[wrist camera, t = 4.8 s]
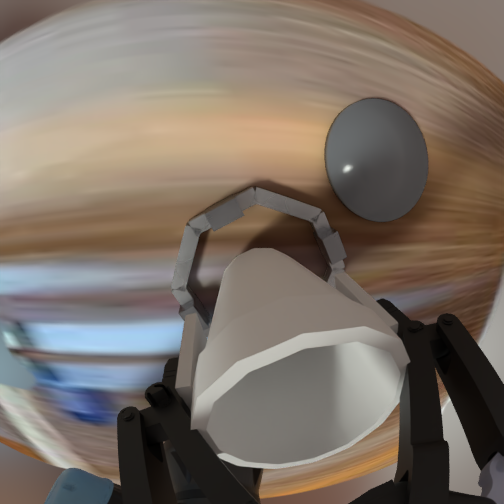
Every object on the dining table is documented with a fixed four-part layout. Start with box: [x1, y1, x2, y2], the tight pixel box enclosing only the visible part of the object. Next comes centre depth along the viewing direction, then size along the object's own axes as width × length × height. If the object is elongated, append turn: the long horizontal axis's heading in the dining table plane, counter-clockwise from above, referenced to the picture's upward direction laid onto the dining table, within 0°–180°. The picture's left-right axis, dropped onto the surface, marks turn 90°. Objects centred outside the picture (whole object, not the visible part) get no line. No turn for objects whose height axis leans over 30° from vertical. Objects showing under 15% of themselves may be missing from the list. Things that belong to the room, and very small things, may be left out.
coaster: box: [324, 98, 428, 222], centre depth 20 cm, size 11×11×1 cm
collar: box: [171, 186, 347, 338], centre depth 22 cm, size 14×14×2 cm
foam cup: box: [191, 248, 411, 469], centre depth 15 cm, size 10×9×13 cm
